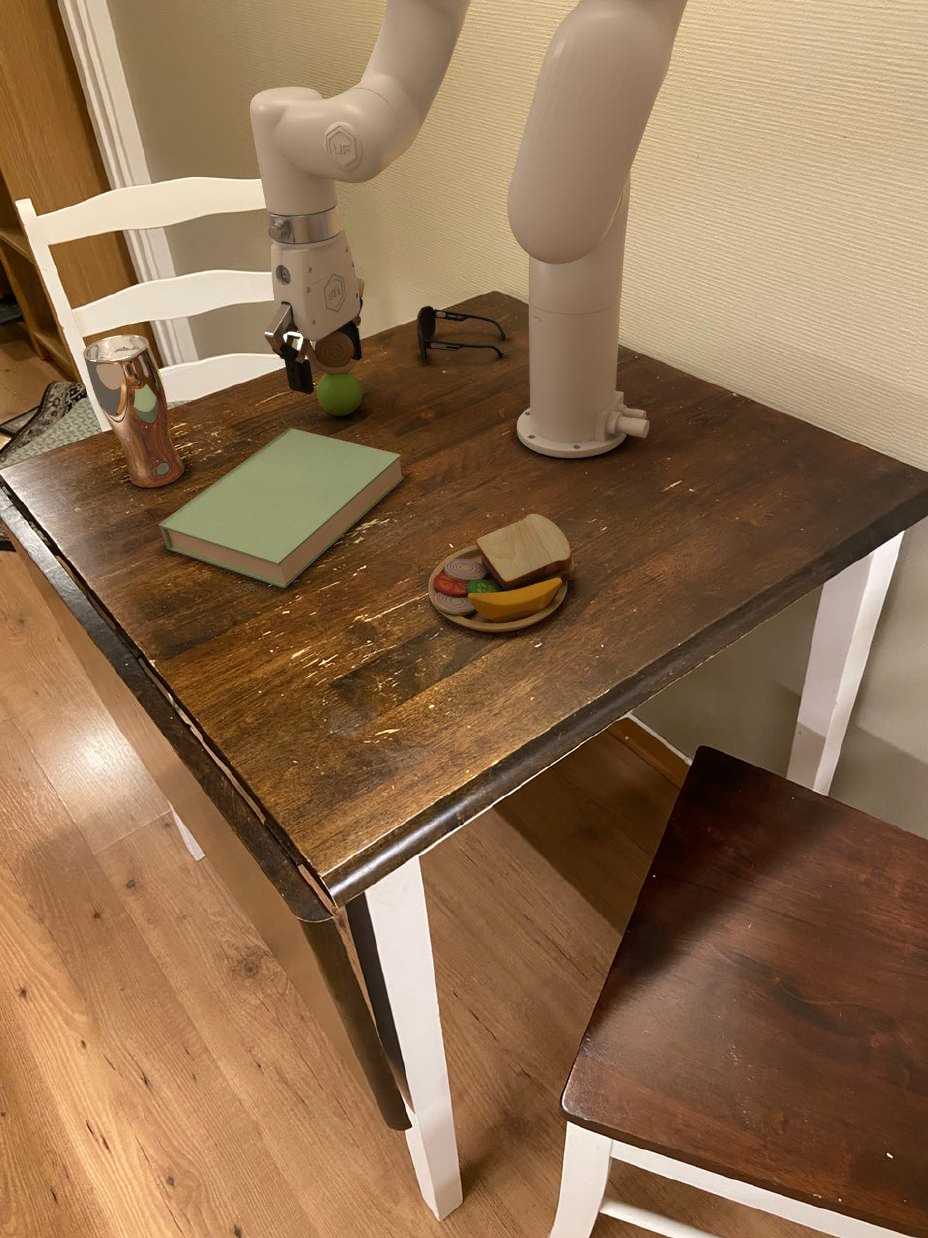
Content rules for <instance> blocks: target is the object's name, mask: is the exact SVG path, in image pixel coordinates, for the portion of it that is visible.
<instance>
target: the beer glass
mask: <svg viewBox="0 0 928 1238" xmlns="http://www.w3.org/2000/svg"><path fill="white" fill-rule="evenodd" d="M82 357H83V359H84V362H85V366H86V369H87V374H88V377H89V381H90V384H91V387H92V390H93V393H94V396H95V398H96V401H97V403H98V406H99V408H100V410H101V411H102V414H103V416H104V418H105V419H106V421H107V423H108V424H109V426H110V428H111V429H112V430H111V431H113V433H114V435H115V436H116V438H117V440H118V442H119V444H120V446H121V448H122V450H123V452H124V455H125V459H126V464H127V465H126V466H127V473H128V477H129V480H130V482H131V484H133V485H134V486H136V487H139V488H143V489H152V488H159V487H163V486H167V485H169V484H172V483H173V482H175V481H176V480H178V479H179V478H180V477H181V476H182V475H183V474H184V472H185V464H184V462H183V460H182V458H181V456H180V454H179V453H178V450H177V448H176V446H175V444H174V441H173V436H172V432H171V426H170V425H171V424H170V417H169V409H168V408H169V407H168V400H167V395H166V388H165V385H164V382H163V378H162V374H161V372H160V369H159V365H158V364H157V363H158V362H157V361H156V358H155V355H154V353H153V351H152V349H151V346H150V342H149V340H148V338H146V337H145V336H144V335H143V336H142V335H138V334H131V333H129V334H128V333H127V334H117V335H111V336H107V337H105V338H101V339H99V340H95V341H94V342H92V343H90V344H89V345H87V346H86V347H85V348H84V349H83V351H82Z"/></svg>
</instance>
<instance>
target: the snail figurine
mask: <svg viewBox="0 0 928 1238" xmlns="http://www.w3.org/2000/svg"><path fill="white" fill-rule="evenodd" d="M297 332H300V331H297ZM311 342H312V341H310V342H309V346H308V350H307V353H306V358H307V360H309V362H310V365H311V366H312V367H313V368H314V369H315V370H317V371H319V372H321V373H324V375H323V376H321V378H320V379H319V381H318V383H317V386H316V398H317V401H318V403H319V406H320V407H321V408H322V409H323V410H324V411H325V412H327V413H328V414H330V415H332V416H337V417H345V416H348V415H350V414H352V413H353V412H355V411H356V410H357V409H358V408H359V406H360V404H361V402H362V397H363V389H362V386H361V383H360V381H359V380H358V378H357V377H356V376H355V375H354V374H353V373H351V372H350V371H351V370H352V369H353V368H355V366H356V364H357V361H356V360H353V359H352V357H353V354H354V347H353V344H352V341H351V340H350V338H349V337H348V336H347V335H345V334H344V333H342V332H339V331H334V332H332V333H331V334H329V335H328V336H326V337H325V338H323V339H321V340H319V341H316V342H315V345H314V347H313V344H312V343H311Z"/></svg>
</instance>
